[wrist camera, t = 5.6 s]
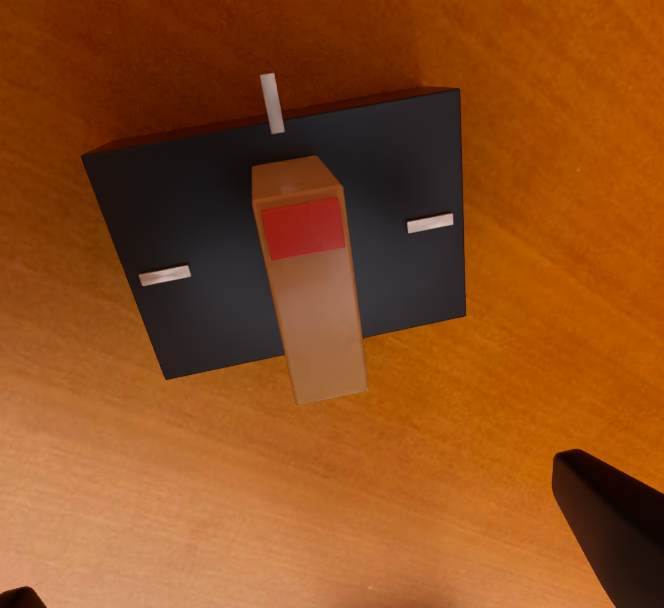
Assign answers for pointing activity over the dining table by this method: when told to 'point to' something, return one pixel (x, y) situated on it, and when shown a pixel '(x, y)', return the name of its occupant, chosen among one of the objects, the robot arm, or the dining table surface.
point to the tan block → (311, 276)
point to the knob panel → (241, 230)
